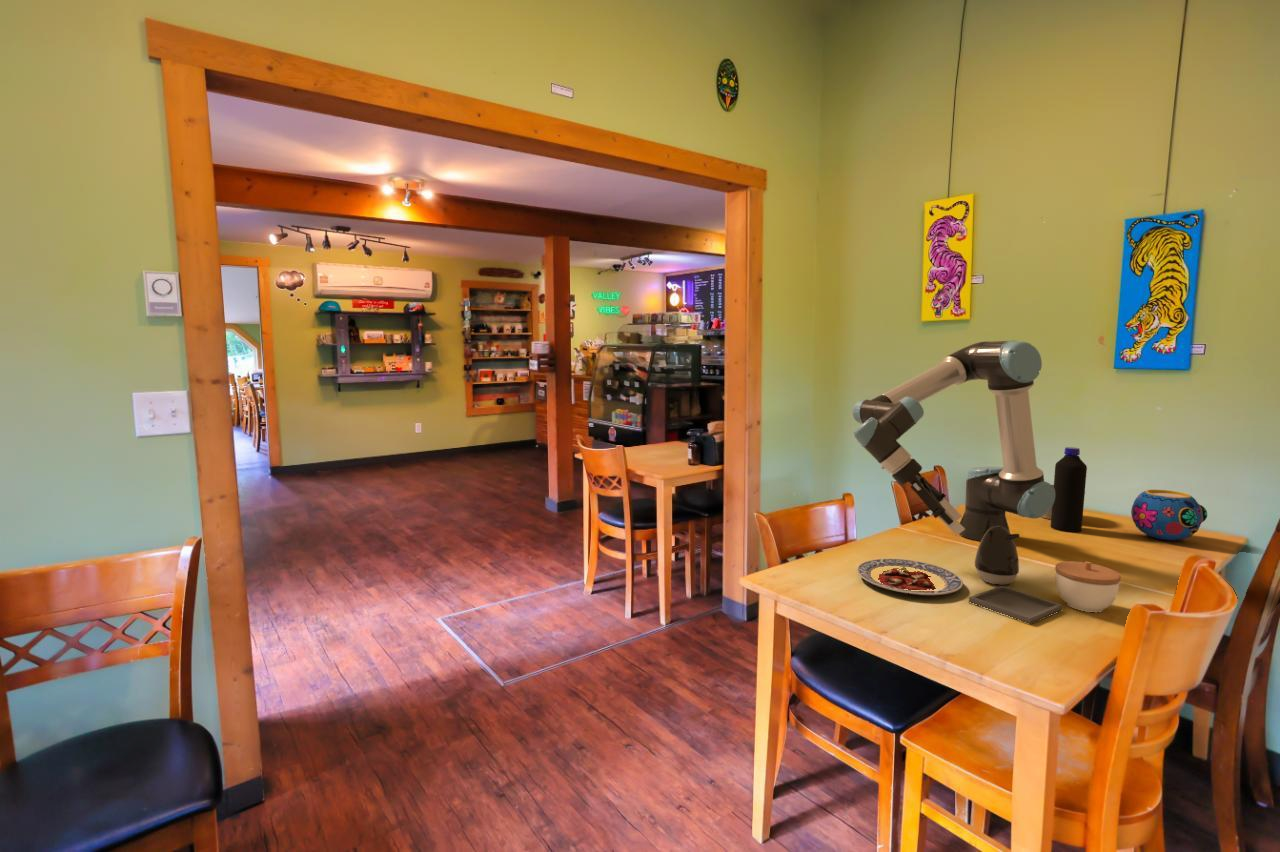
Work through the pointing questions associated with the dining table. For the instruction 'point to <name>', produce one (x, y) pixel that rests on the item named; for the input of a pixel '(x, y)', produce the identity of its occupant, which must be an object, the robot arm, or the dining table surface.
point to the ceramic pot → (1167, 514)
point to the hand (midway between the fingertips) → (959, 525)
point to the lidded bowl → (1086, 585)
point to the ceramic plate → (910, 576)
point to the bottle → (1069, 492)
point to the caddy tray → (1016, 604)
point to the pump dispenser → (997, 556)
